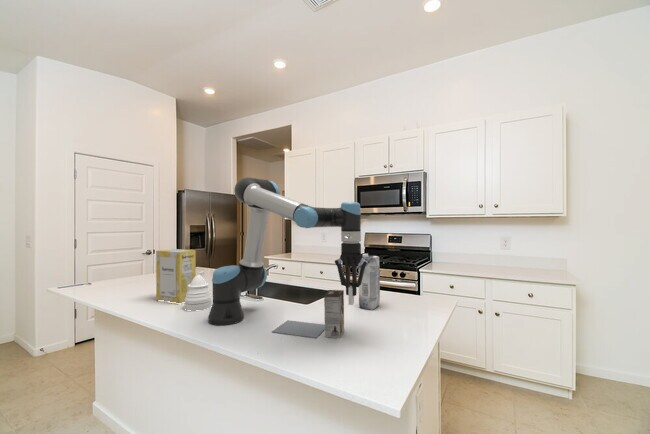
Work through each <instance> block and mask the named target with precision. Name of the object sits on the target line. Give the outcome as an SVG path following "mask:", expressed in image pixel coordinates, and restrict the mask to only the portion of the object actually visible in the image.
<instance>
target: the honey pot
mask: <svg viewBox="0 0 650 434" xmlns="http://www.w3.org/2000/svg"><path fill="white" fill-rule="evenodd" d="M204 275H205V271H199V272H198V274H197V275H196V276H195V277H194V278H193V280H192V282H191V284H189V285H188V287H189V289H188V291H187V294H186V297H185V299H184V300H185V301H184V302H185V303H184V308H185V309H186V310H191V311H190V312H197V311H196V310H202V311H205V310H204V309H206V310H208V309H207V308H209V309H211V308H210V307H211V306H212V304H213V295H211V291H210V289H209V284H210V283H208V282H206V280H205V279H204V277H203V276H204ZM185 309H184V310H185ZM186 310H185V311H186Z"/></svg>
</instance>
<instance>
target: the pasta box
mask: <svg viewBox="0 0 650 434" xmlns="http://www.w3.org/2000/svg"><path fill="white" fill-rule="evenodd" d="M196 254H197V252H196V249H195V250H194V249H183V248H181V249H178V248H175V249H174V248H171V249H163V250H162V249H161V250H156V251H155V255H156V258H155V261H156V262H155V267H156V268H155V269H156V270H155V274H156V275H155V276H156V277H155V278H156V279H155V280H156V281H155V285H156V287H155V288H156V292H155V293H156V296H155V298H156V299H157V300H164V301H170V302H176V303H182V302H184V301H185V300H184V299H185V297H186V294H187V291H188V289H189V287H188V285H189V284H191V282H192V280H193V278H194V277H195V276H197V275H196V273H197V270H196V269H197V267H196V264H197V263H196V260H197V257H196Z"/></svg>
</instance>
